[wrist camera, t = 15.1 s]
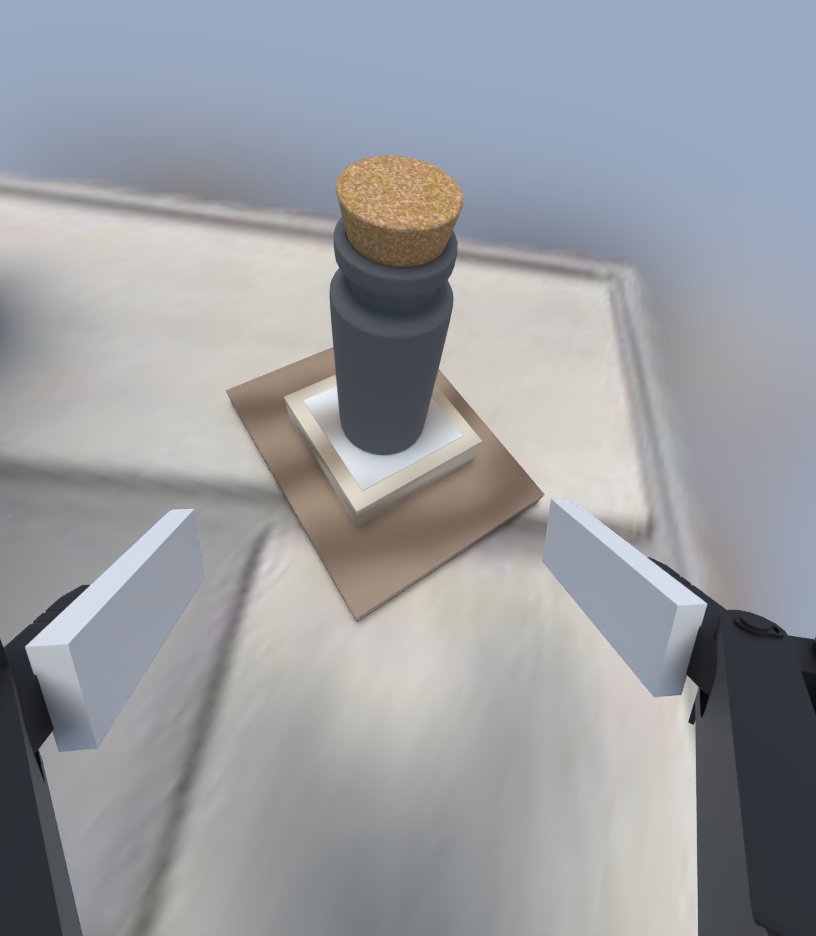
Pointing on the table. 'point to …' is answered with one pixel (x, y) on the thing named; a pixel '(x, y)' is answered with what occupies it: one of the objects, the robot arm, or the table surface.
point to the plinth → (380, 481)
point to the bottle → (391, 296)
